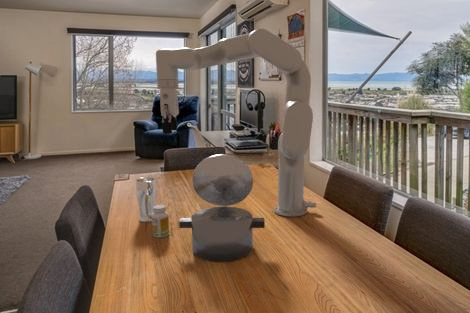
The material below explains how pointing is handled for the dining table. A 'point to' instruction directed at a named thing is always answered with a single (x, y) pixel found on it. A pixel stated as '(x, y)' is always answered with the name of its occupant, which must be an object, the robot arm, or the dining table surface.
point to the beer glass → (146, 197)
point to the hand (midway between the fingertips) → (170, 131)
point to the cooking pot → (222, 233)
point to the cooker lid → (222, 180)
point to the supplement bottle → (160, 221)
